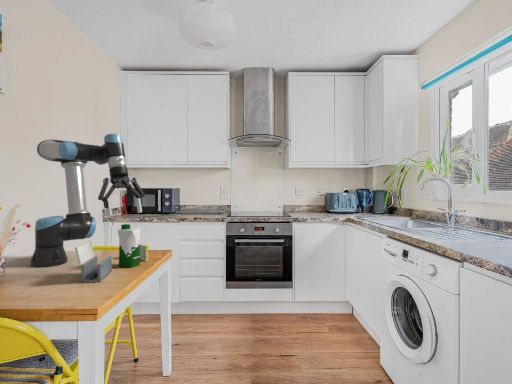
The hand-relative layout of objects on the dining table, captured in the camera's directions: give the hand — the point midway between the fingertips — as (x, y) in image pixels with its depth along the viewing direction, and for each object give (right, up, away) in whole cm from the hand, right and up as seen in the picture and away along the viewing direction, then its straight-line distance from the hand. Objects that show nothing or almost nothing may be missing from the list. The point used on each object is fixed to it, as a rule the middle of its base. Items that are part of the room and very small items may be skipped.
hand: (125, 214), depth 133 cm
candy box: (-6, -27, +28) cm, 39 cm away
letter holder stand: (-10, -26, -5) cm, 28 cm away
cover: (-14, -16, -6) cm, 22 cm away
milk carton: (-4, -27, +14) cm, 30 cm away
